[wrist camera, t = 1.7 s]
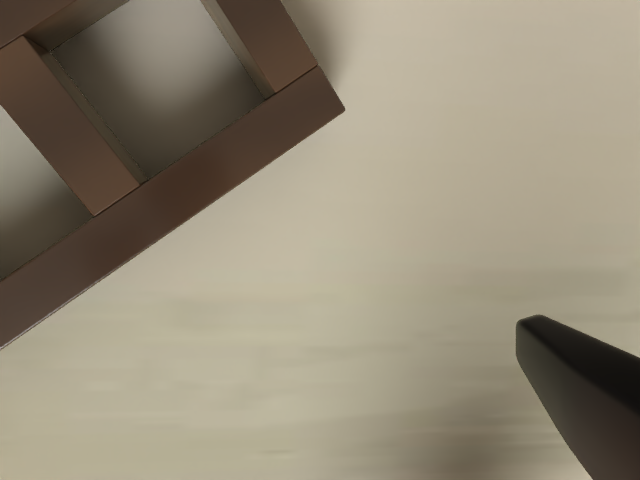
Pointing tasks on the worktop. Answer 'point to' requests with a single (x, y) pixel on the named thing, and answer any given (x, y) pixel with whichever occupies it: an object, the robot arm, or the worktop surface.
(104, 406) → the worktop surface
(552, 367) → the robot arm
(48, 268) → the rack
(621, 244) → the worktop surface
